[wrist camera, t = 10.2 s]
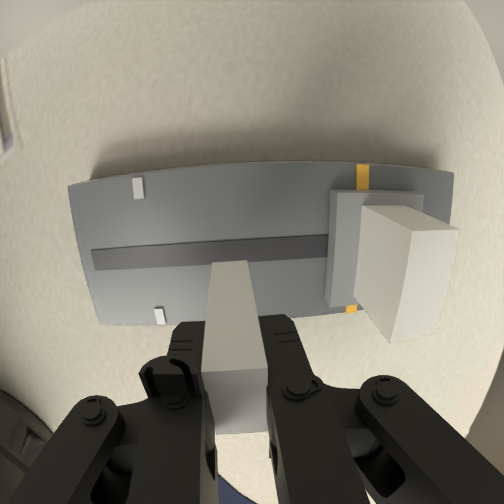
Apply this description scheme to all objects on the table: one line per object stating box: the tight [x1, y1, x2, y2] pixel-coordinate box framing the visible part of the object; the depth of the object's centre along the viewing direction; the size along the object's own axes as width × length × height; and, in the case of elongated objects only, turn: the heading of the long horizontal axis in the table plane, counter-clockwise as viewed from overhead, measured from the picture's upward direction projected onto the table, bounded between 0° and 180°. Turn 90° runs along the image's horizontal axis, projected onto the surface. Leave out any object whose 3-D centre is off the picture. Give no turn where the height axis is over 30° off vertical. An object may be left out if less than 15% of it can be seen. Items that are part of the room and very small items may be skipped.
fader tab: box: [324, 189, 460, 344], centre depth 14 cm, size 6×7×6 cm
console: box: [68, 161, 454, 325], centre depth 18 cm, size 26×10×3 cm, turn 92°
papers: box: [218, 475, 255, 504], centre depth 35 cm, size 24×30×4 cm
